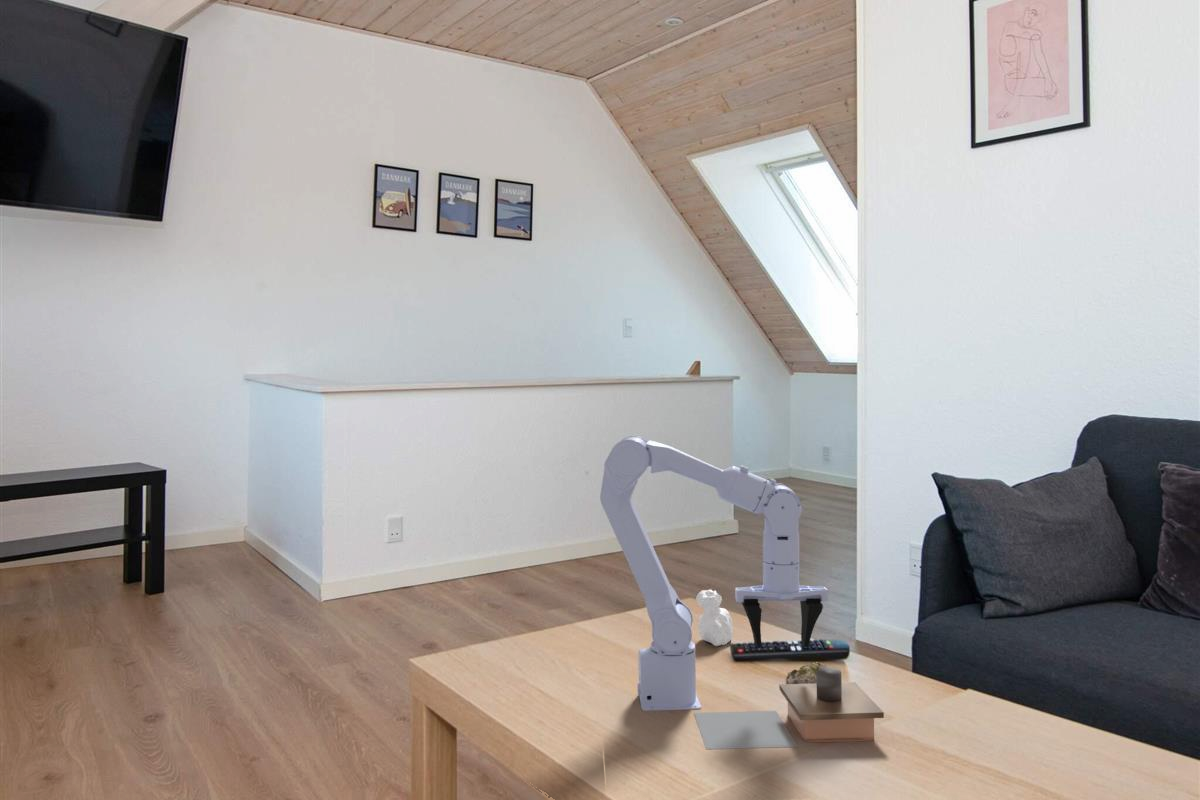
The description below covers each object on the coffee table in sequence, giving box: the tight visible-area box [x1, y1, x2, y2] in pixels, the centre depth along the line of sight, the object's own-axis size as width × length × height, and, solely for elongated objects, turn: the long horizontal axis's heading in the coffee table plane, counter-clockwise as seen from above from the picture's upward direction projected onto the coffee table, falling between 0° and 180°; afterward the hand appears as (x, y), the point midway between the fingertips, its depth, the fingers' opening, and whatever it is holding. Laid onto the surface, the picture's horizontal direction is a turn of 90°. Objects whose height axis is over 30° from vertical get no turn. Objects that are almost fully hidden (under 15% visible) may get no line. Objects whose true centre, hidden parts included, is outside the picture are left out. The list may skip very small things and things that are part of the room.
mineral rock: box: [785, 661, 828, 684], centre depth 144 cm, size 11×4×8 cm
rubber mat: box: [693, 710, 798, 750], centre depth 125 cm, size 13×13×1 cm
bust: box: [695, 588, 734, 647], centre depth 169 cm, size 12×8×11 cm
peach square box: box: [787, 702, 875, 743], centre depth 125 cm, size 10×10×4 cm
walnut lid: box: [778, 666, 885, 720], centre depth 125 cm, size 12×12×5 cm
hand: (781, 645), depth 134 cm, fingers open, 7 cm apart
